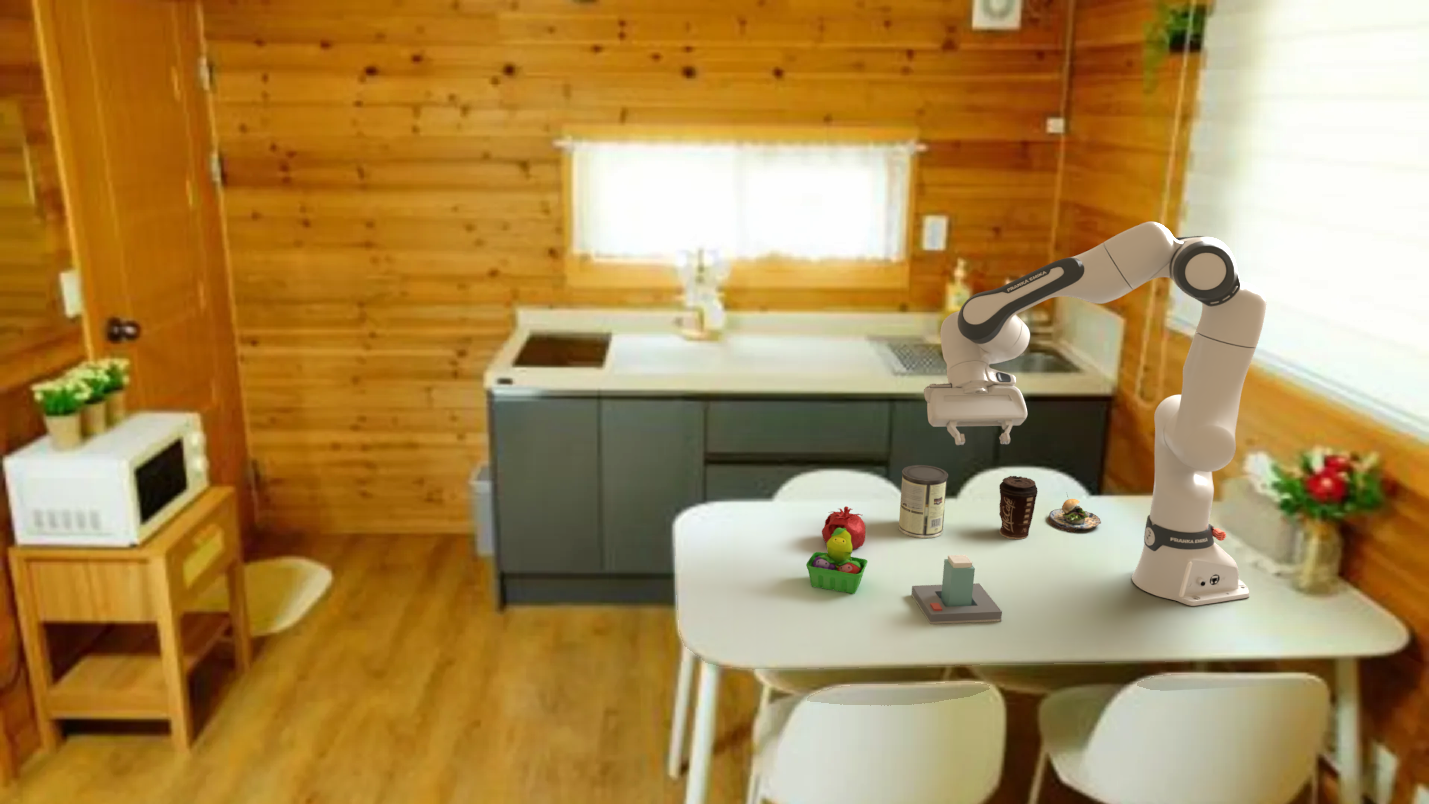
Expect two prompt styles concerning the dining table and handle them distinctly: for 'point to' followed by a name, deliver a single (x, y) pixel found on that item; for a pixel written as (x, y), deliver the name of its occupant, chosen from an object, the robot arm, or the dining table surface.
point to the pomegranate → (845, 526)
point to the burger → (1072, 517)
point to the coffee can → (922, 501)
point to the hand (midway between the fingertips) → (983, 443)
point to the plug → (957, 581)
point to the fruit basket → (836, 565)
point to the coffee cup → (1017, 506)
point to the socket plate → (938, 613)
